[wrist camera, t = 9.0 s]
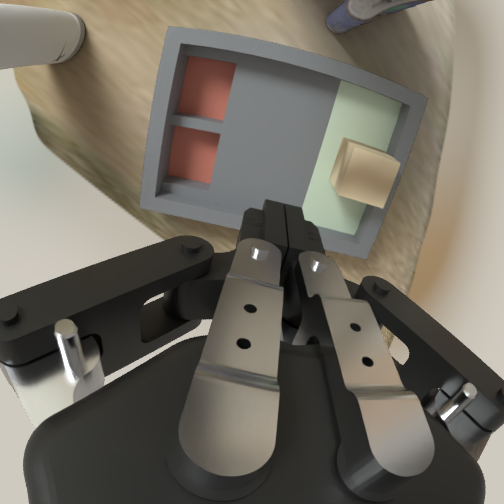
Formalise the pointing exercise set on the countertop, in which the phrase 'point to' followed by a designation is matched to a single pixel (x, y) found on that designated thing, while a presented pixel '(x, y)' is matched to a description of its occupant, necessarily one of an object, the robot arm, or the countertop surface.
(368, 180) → the maple cube
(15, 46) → the travel mug
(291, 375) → the robot arm
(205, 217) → the tray
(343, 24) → the flask
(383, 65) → the countertop surface
